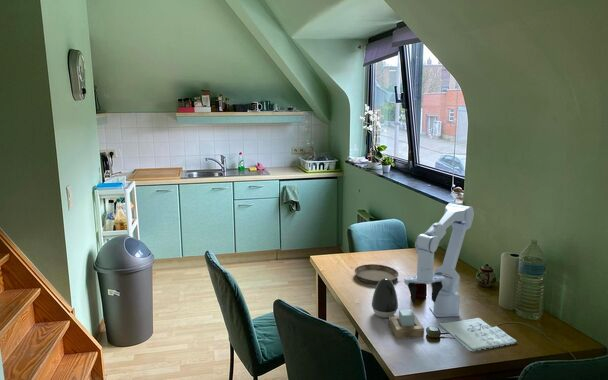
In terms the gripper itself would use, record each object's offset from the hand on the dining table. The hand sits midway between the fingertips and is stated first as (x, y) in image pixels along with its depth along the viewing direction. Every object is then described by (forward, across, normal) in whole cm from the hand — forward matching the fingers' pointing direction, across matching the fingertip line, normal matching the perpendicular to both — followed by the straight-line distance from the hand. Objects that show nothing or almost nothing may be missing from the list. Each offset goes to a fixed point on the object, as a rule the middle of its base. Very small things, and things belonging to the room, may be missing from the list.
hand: (423, 301), depth 170 cm
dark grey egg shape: (+10, -12, +10) cm, 19 cm away
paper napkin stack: (+11, +18, -7) cm, 22 cm away
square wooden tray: (+10, -7, -3) cm, 13 cm away
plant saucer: (+11, -6, +47) cm, 49 cm away
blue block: (+8, -7, -3) cm, 11 cm away
